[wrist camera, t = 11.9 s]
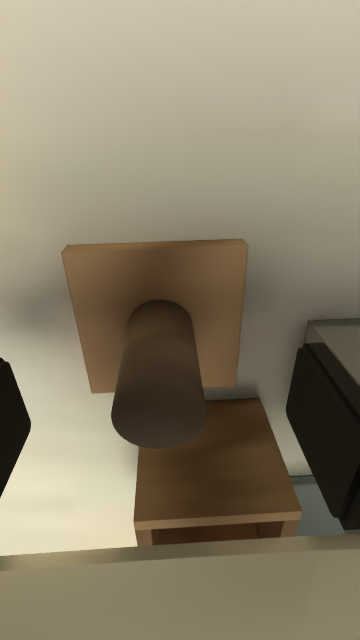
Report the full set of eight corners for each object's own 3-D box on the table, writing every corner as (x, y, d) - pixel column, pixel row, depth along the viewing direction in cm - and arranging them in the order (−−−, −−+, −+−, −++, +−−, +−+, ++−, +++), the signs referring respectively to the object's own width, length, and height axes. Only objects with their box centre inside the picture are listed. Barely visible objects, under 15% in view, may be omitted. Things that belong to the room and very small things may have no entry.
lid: (241, 237, 13) (295, 307, 8) (230, 370, 17) (263, 482, 11) (69, 243, 13) (2, 320, 7) (96, 376, 16) (63, 494, 11)
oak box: (260, 398, 17) (302, 511, 12) (249, 471, 20) (279, 585, 15) (142, 404, 17) (133, 521, 12) (150, 477, 20) (146, 595, 15)
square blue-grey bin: (364, 472, 21) (446, 607, 15) (343, 521, 24) (404, 650, 18) (275, 477, 21) (322, 616, 15) (265, 526, 24) (300, 659, 18)
